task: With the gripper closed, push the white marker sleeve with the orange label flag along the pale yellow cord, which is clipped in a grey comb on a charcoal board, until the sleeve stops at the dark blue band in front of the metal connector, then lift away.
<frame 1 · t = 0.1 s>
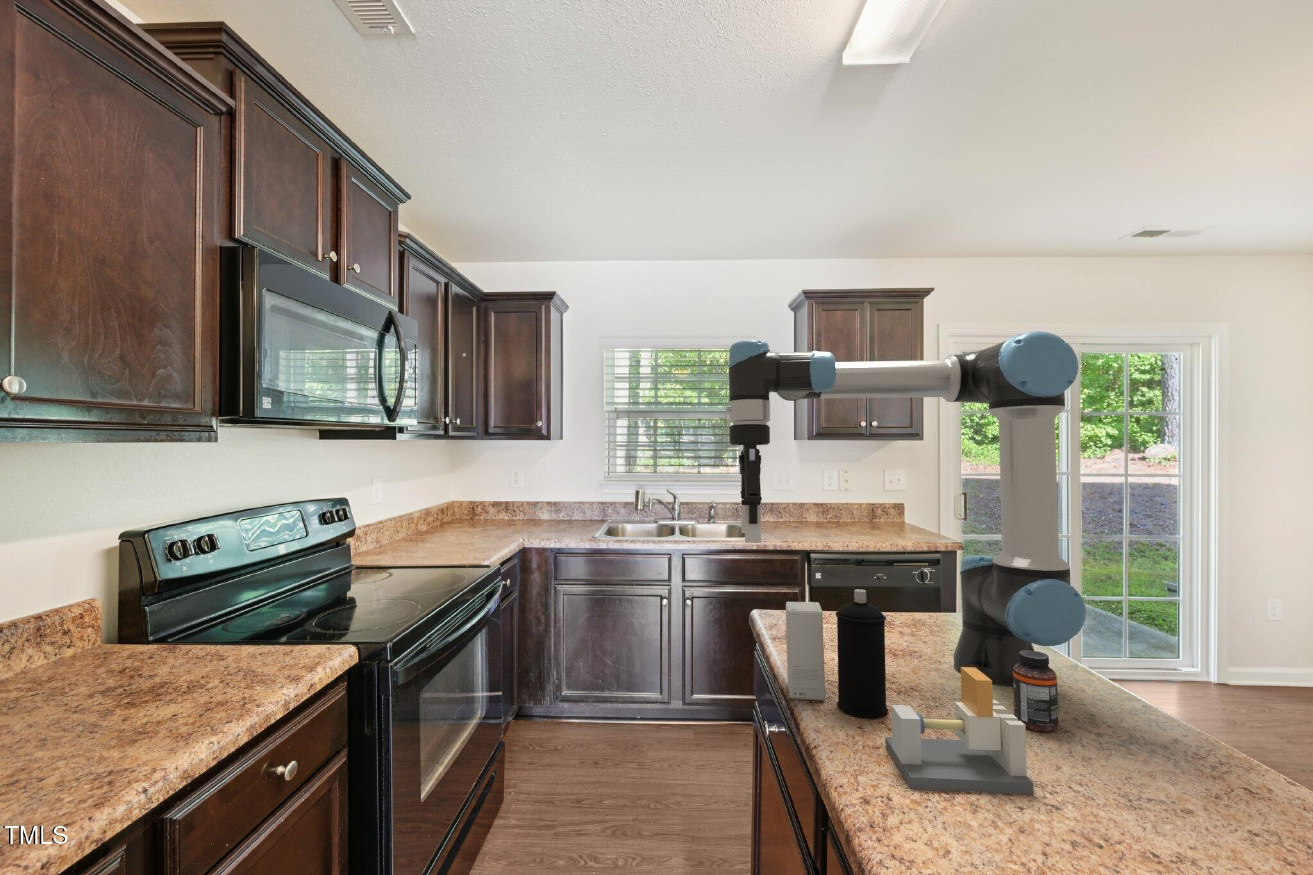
hand: (750, 537, 109), 28 cm above the countertop, tool pointing down, fingers open, 13 cm apart
aerosol can: (862, 709, 100), on the countertop
skincare box: (805, 692, 107), on the countertop
cord board: (953, 769, 80), on the countertop
supplement bottle: (1036, 726, 93), on the countertop
sleeve: (976, 707, 80), point 8 cm above the countertop, slide at 0.0 cm
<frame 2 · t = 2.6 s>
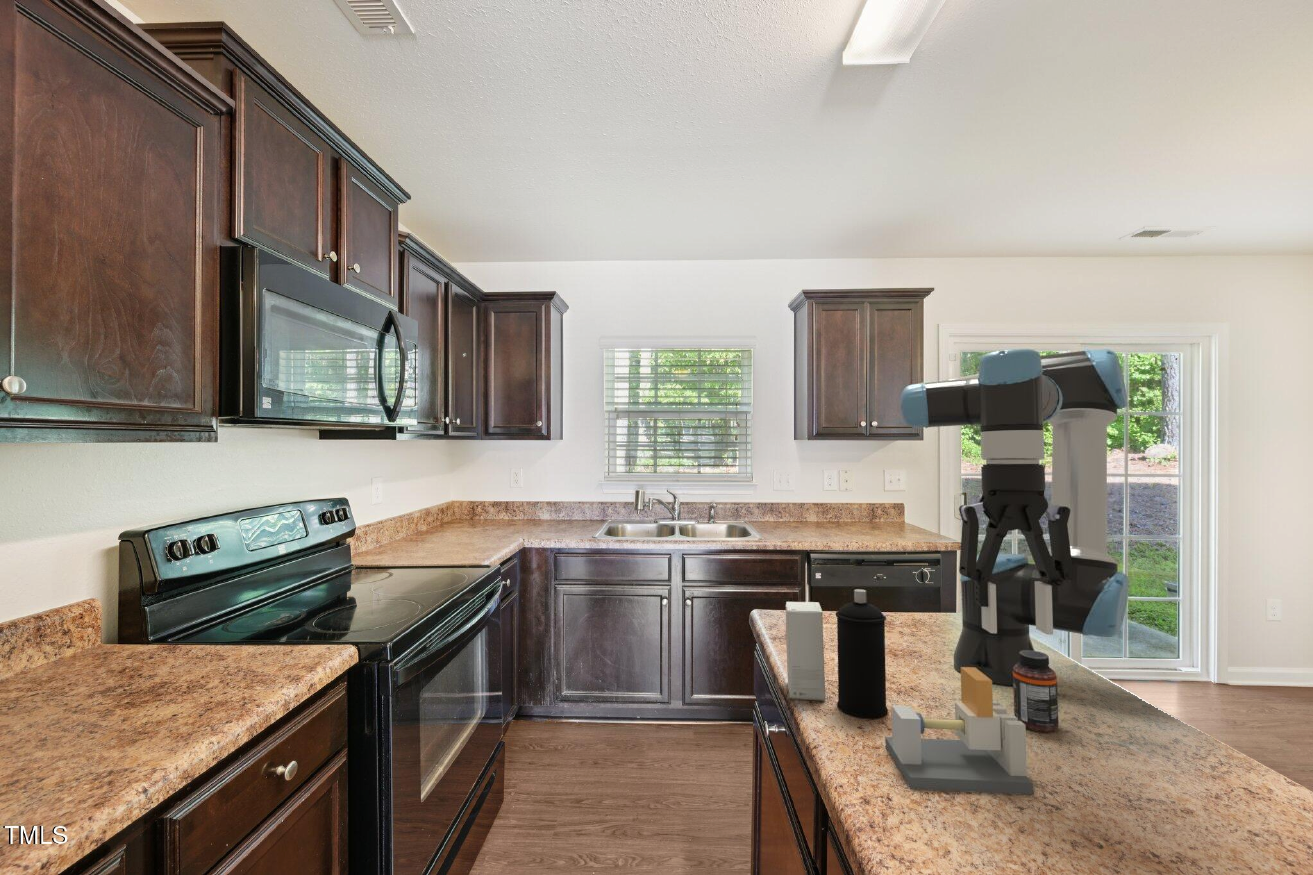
hand: (1016, 630, 80), 19 cm above the countertop, tool pointing down, fingers open, 6 cm apart
nothing on the countertop moved.
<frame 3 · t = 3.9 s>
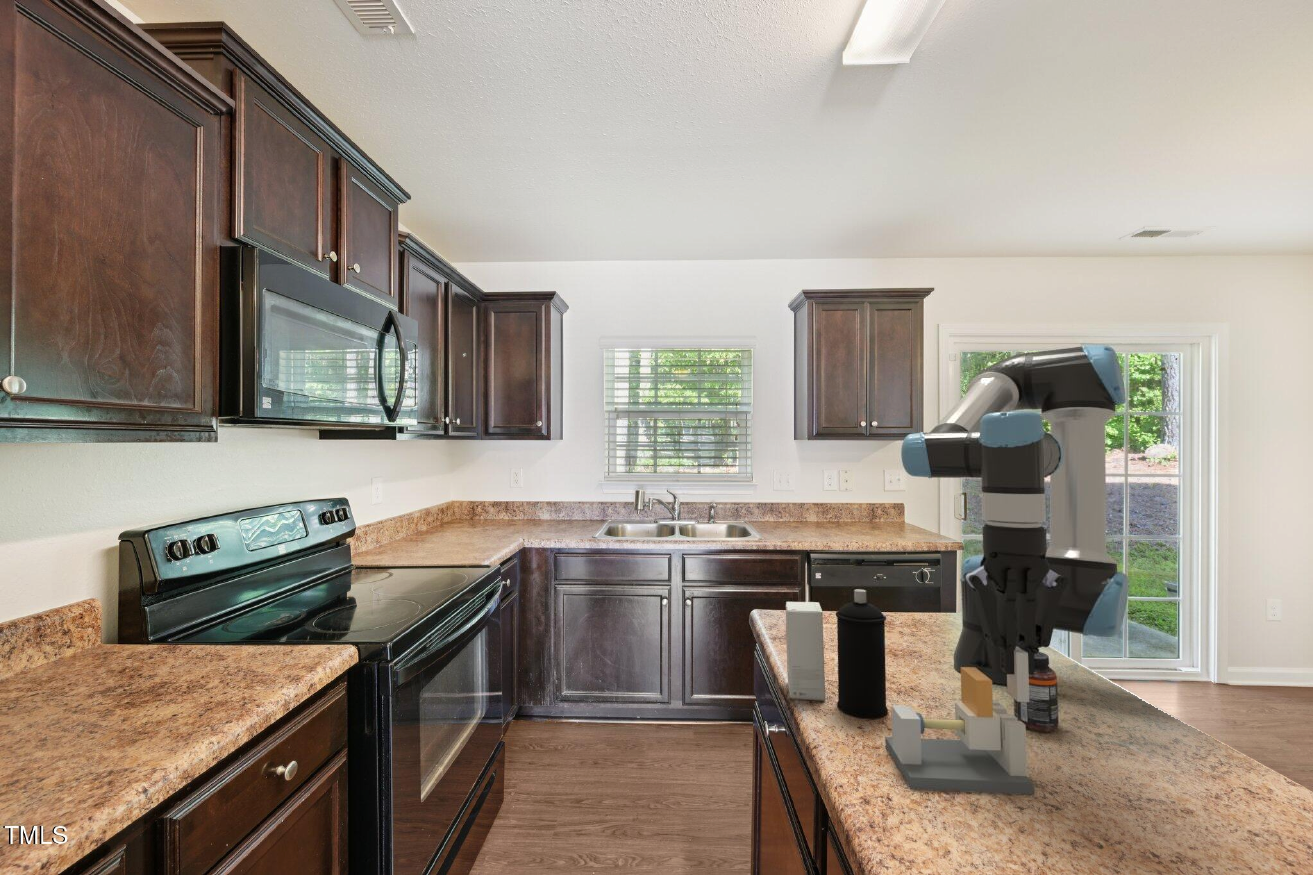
hand: (1018, 697, 80), 10 cm above the countertop, tool pointing down, fingers closed
nothing on the countertop moved.
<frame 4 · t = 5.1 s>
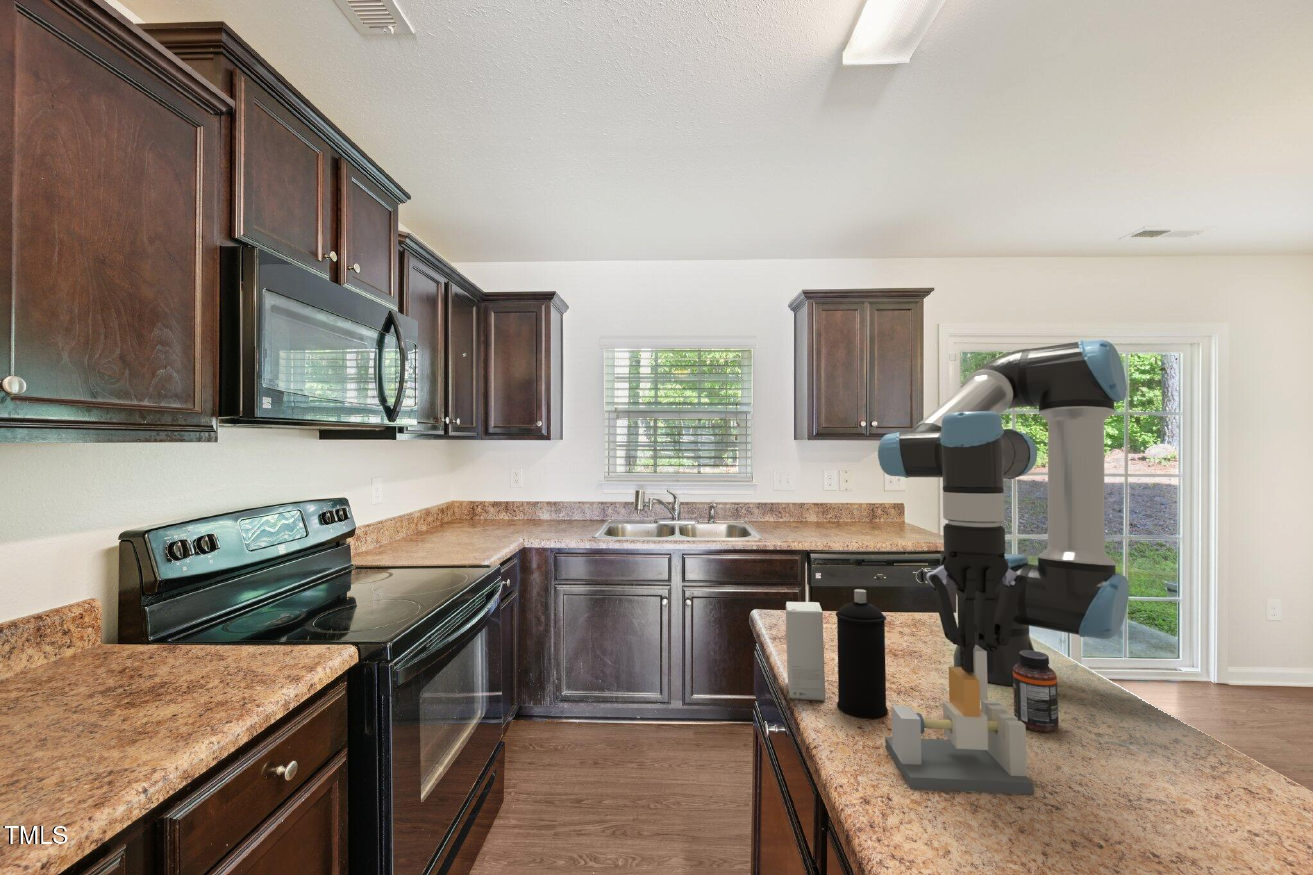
hand: (977, 696, 80), 10 cm above the countertop, tool pointing down, fingers closed
sleeve: (964, 707, 80), point 8 cm above the countertop, slide at 1.6 cm, touching gripper
everything else where it was.
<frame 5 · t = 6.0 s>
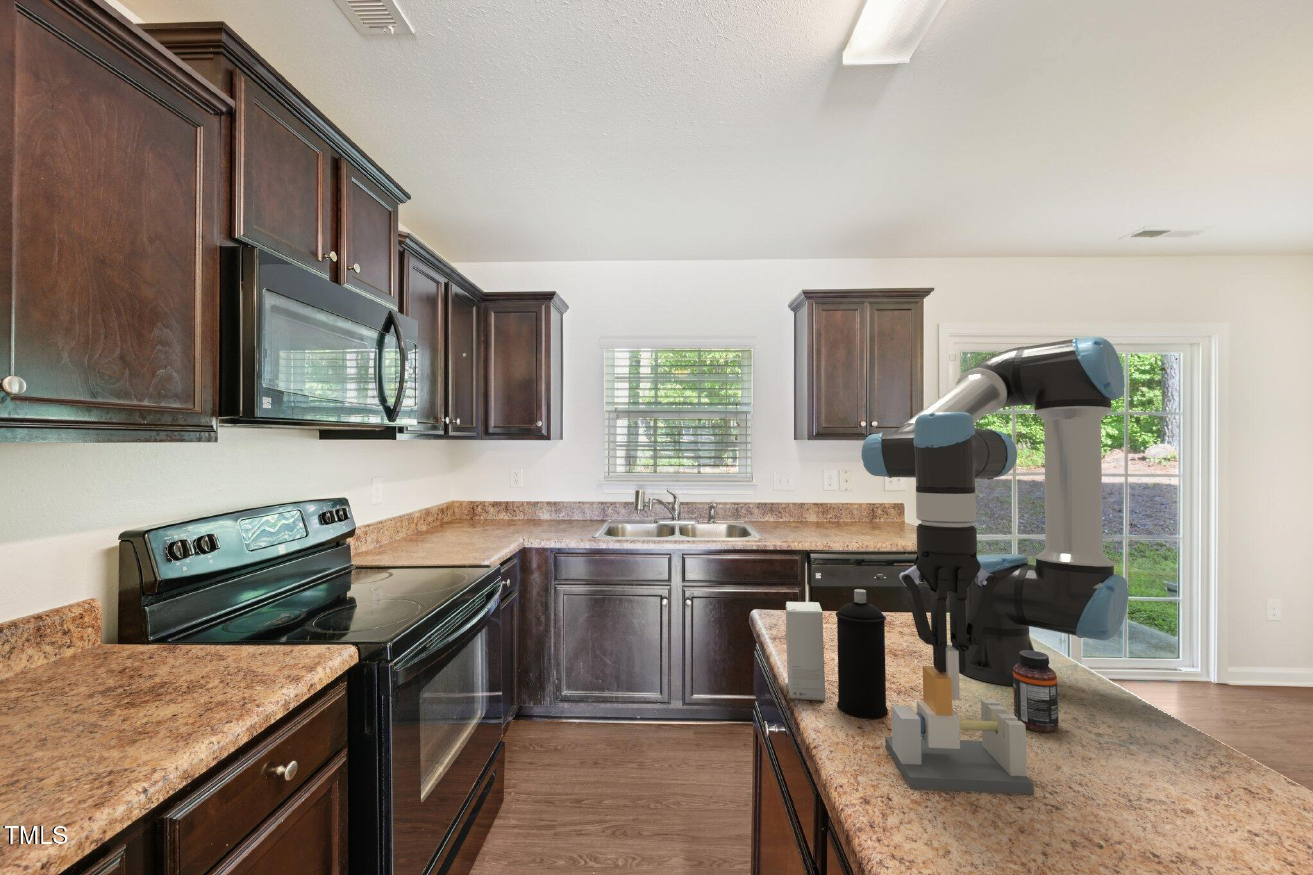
hand: (950, 695, 80), 10 cm above the countertop, tool pointing down, fingers closed
sleeve: (937, 706, 80), point 8 cm above the countertop, slide at 5.2 cm, touching gripper
everything else where it was.
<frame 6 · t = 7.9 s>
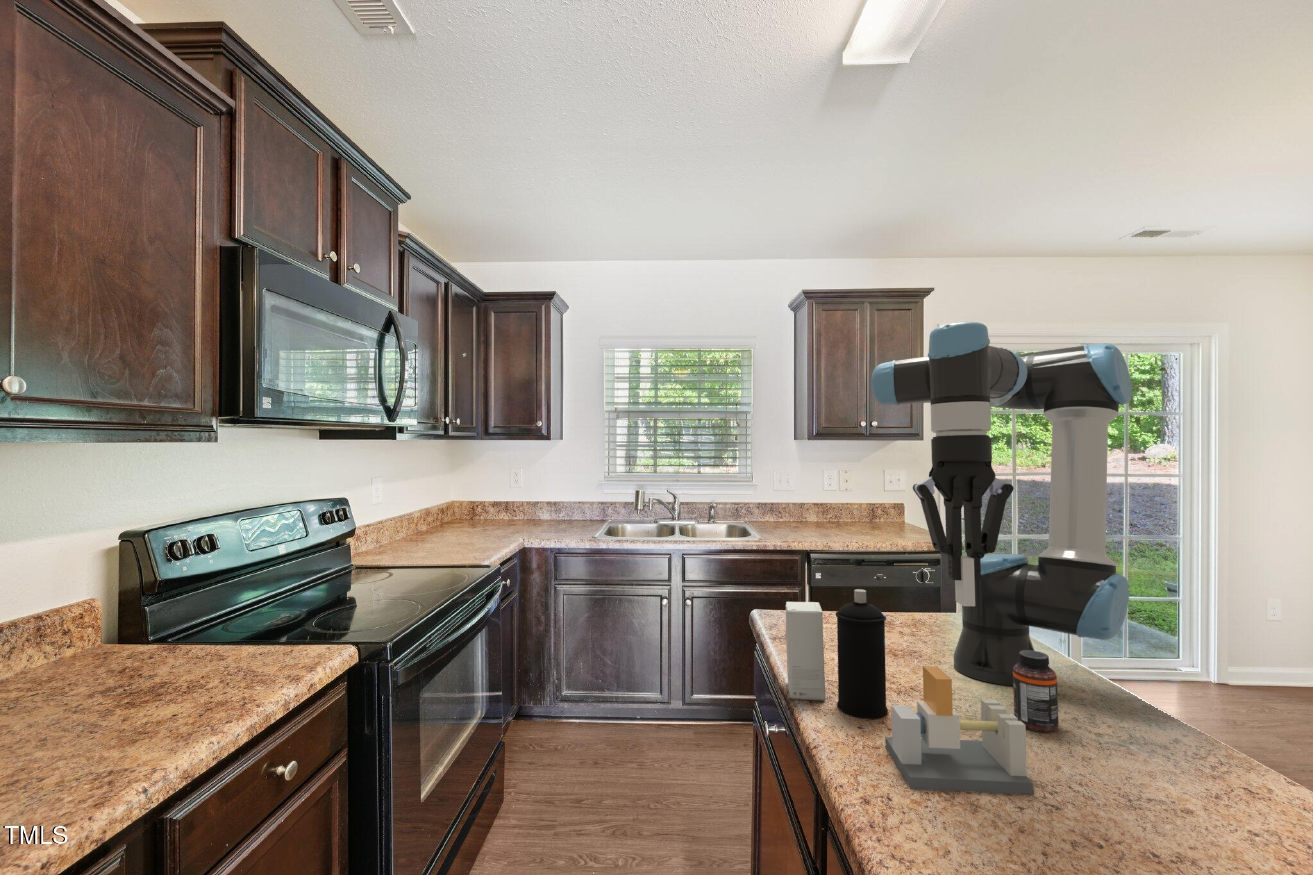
hand: (965, 603, 81), 22 cm above the countertop, tool pointing down, fingers closed
sleeve: (937, 706, 80), point 8 cm above the countertop, slide at 5.2 cm
everything else where it was.
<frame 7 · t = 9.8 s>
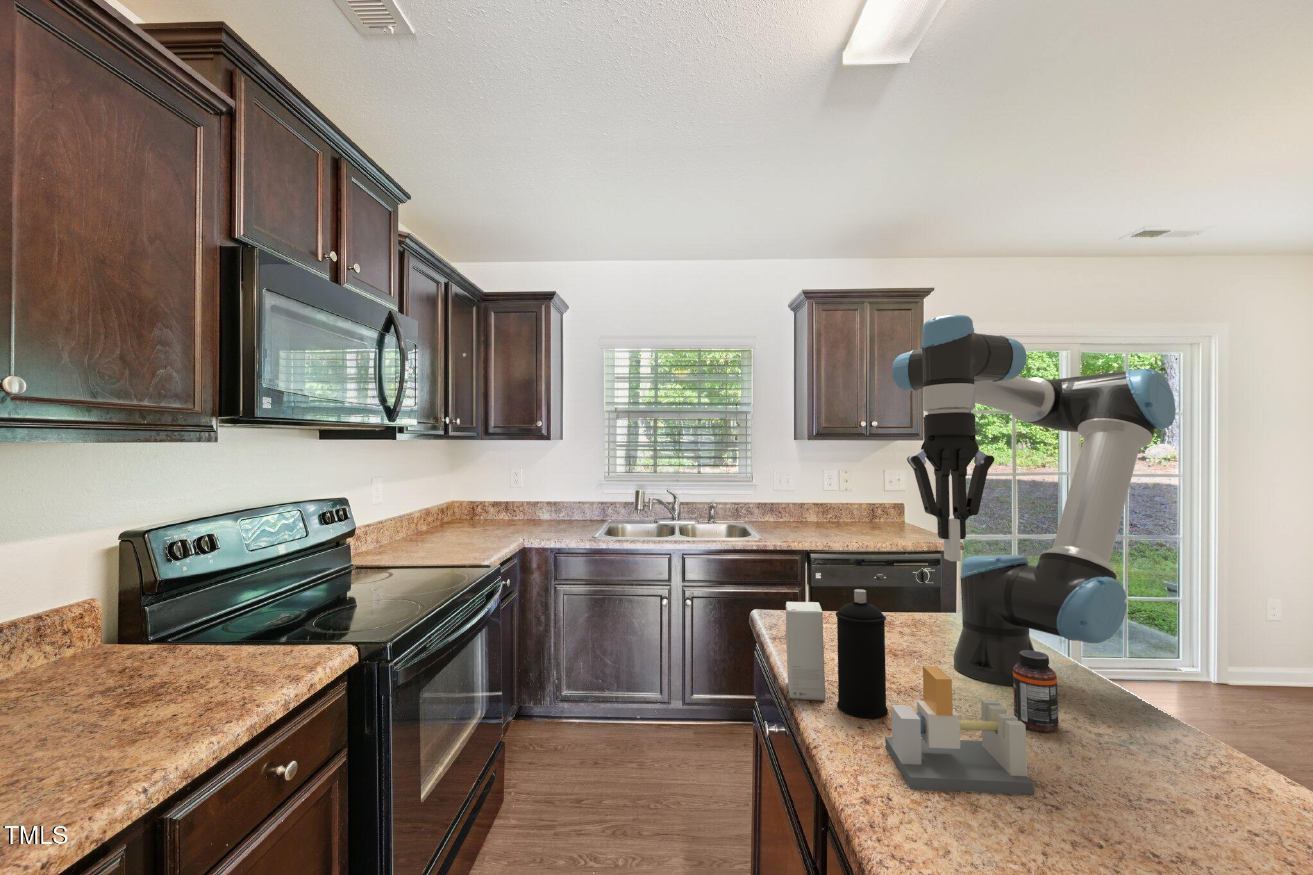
hand: (952, 559, 93), 26 cm above the countertop, tool pointing down, fingers closed
nothing on the countertop moved.
at the end: sleeve slide at 5.2 cm; aerosol can moved 0.2 cm from its start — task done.
